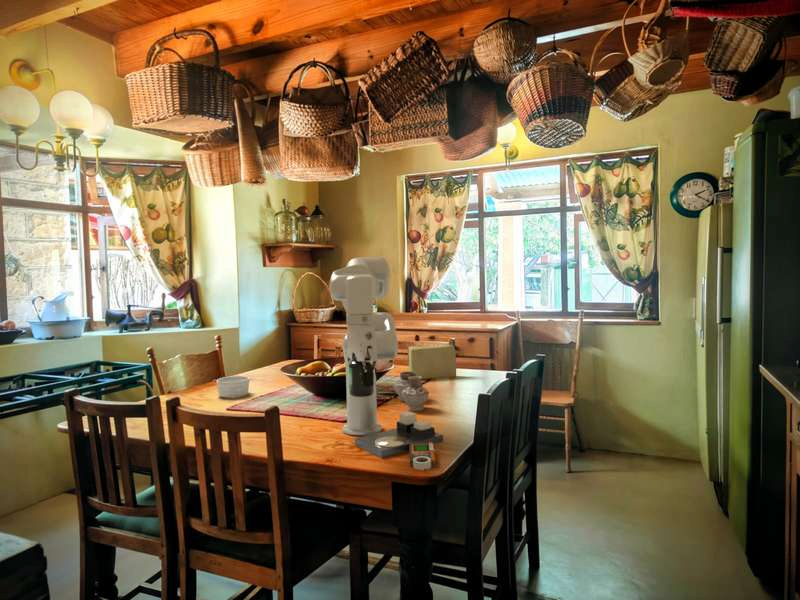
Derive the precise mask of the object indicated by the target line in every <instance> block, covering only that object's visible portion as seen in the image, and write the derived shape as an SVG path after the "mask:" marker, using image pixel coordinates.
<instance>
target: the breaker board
mask: <svg viewBox="0 0 800 600" xmlns="http://www.w3.org/2000/svg"><path fill="white" fill-rule="evenodd" d="M416 422H418V421H417V420H416ZM409 442H432V443H433V444H434V445H436V444H439V443H443V442H444V434H442V433H440V432H437V429H436V428H435V427H433V426H431V428H429V429H425V430H419V429H416V428H414V423H413V424H409V425H405V424H403V423H400V420H399V421H396V427H395V428H392V429H389V430H384V431H380V432H378V433H375V434H371V435H361V436H359V437H355V438H354V446H355V447H358V448H360V449H362V450H363V451H366V452H369V453H370V454H371V455H375V456H376V457H379V458H380V459H384V458H387V456H388V457H391V455H392V456H395V455H398V453H399V454H403V453H407V452H410V444H409Z"/></svg>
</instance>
